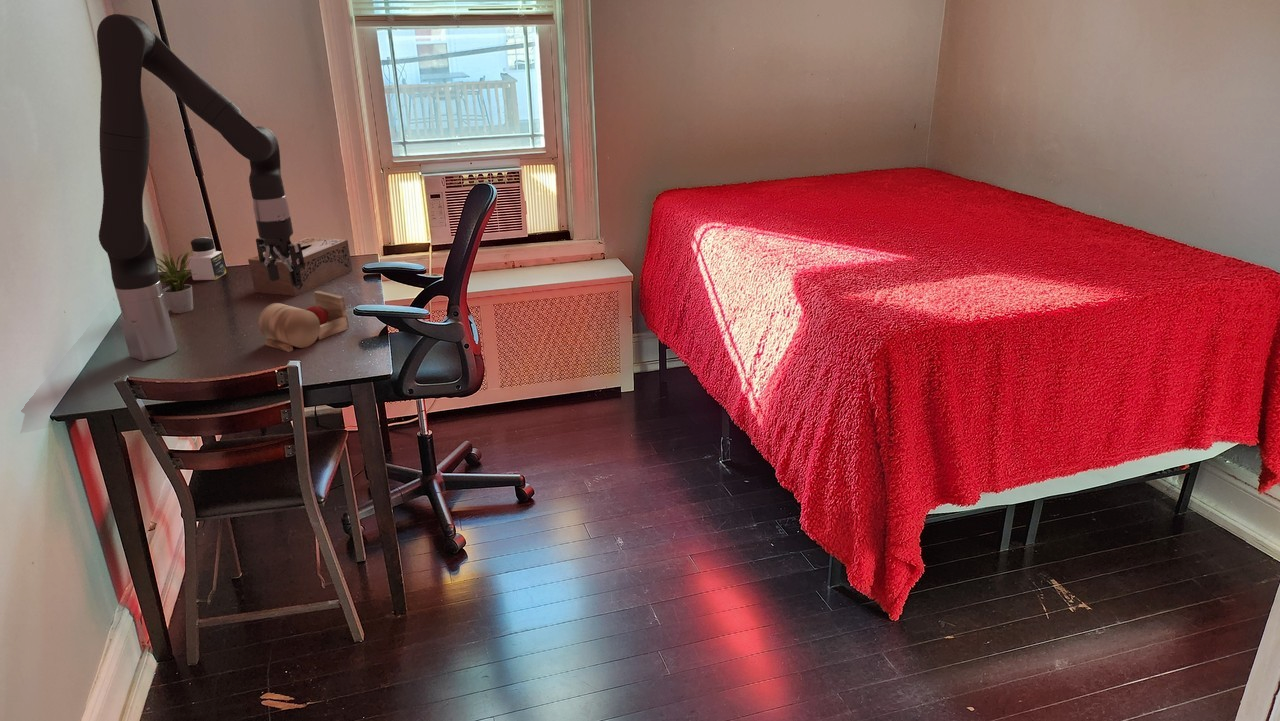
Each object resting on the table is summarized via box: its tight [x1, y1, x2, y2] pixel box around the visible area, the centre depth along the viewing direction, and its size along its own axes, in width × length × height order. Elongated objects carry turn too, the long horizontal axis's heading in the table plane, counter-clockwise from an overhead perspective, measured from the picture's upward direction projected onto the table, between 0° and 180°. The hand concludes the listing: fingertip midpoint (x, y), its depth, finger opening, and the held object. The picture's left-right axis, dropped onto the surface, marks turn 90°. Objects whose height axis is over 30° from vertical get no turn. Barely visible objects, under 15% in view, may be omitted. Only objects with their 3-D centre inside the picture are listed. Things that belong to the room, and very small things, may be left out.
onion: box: [304, 305, 330, 325], centre depth 209 cm, size 6×6×8 cm
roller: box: [258, 302, 320, 353], centre depth 201 cm, size 11×9×9 cm
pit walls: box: [313, 290, 350, 341], centre depth 210 cm, size 10×12×8 cm
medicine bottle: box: [187, 236, 227, 281], centre depth 254 cm, size 7×7×12 cm
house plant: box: [155, 249, 197, 314], centre depth 226 cm, size 14×14×16 cm
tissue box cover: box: [247, 236, 353, 297], centre depth 248 cm, size 26×14×10 cm, turn 161°
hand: (285, 283), depth 201 cm, fingers open, 8 cm apart
